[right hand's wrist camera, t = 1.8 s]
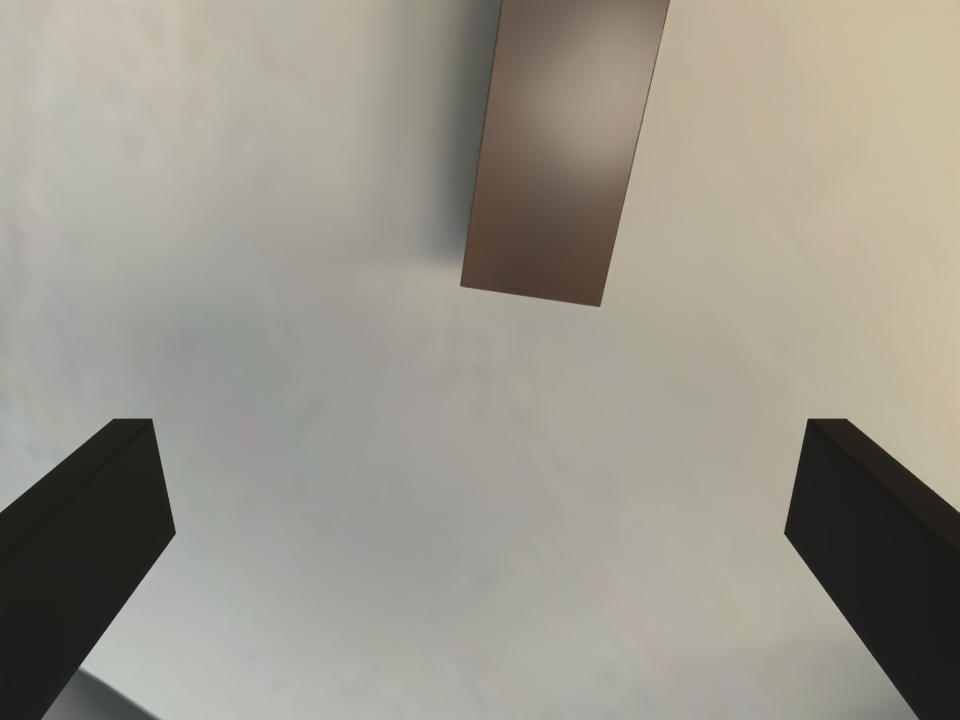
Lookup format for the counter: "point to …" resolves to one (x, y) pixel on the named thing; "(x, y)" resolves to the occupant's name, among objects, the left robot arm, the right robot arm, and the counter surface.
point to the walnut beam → (559, 144)
